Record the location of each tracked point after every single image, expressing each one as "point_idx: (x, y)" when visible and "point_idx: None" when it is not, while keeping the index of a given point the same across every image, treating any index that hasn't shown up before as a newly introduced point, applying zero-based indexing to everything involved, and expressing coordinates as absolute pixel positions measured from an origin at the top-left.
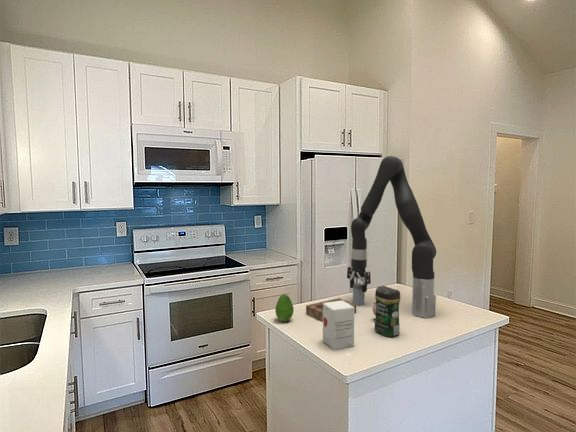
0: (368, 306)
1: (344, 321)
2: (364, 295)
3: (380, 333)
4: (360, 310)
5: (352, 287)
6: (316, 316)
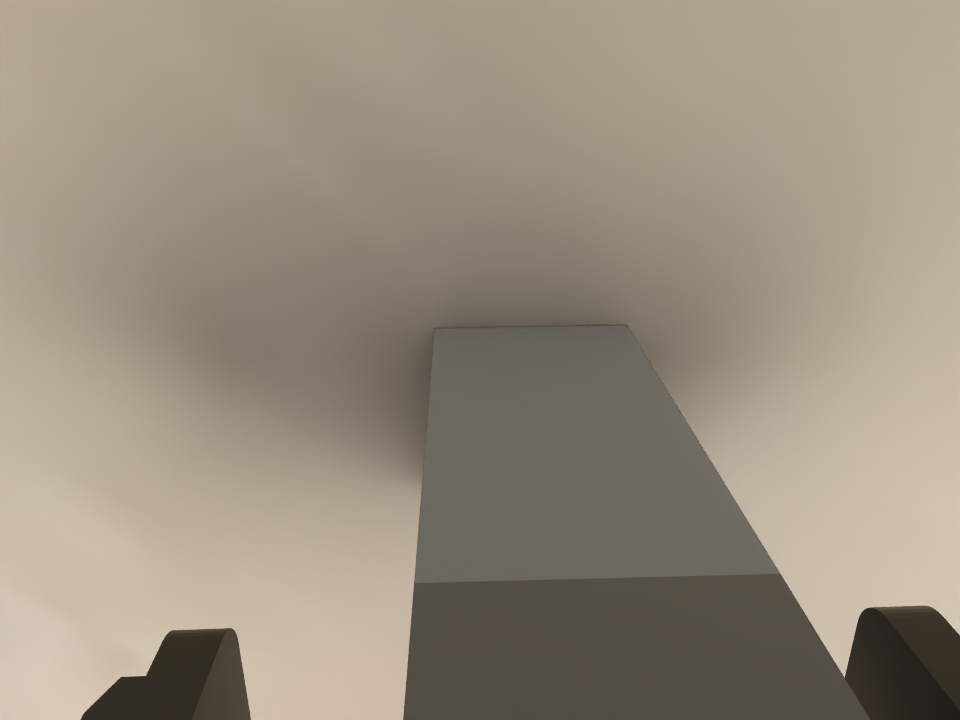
0: (778, 341)
1: None
2: (691, 431)
3: None
4: (819, 614)
5: (243, 710)
6: None
